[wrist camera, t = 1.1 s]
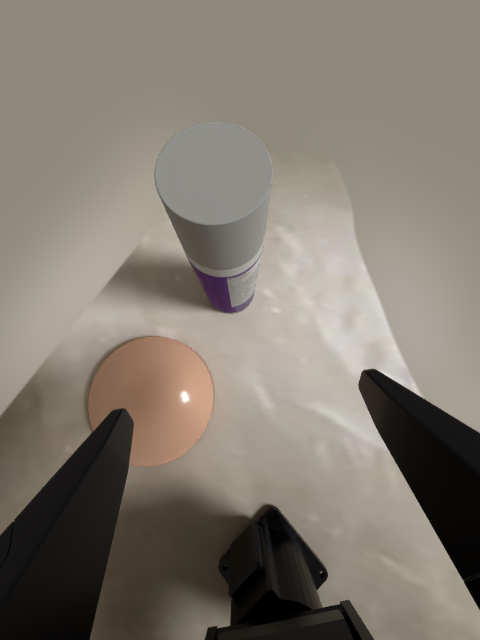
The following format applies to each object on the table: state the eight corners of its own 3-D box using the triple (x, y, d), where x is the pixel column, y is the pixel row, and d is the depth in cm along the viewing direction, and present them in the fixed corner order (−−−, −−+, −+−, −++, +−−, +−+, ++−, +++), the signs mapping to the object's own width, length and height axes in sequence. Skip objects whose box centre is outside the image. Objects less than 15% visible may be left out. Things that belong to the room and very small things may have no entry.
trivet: (238, 401, 21) (238, 403, 20) (144, 488, 20) (138, 496, 19) (165, 314, 23) (160, 312, 22) (73, 391, 22) (63, 393, 20)
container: (198, 288, 23) (125, 164, 9) (233, 260, 24) (221, 97, 9) (228, 323, 23) (203, 253, 8) (263, 293, 23) (302, 176, 9)
